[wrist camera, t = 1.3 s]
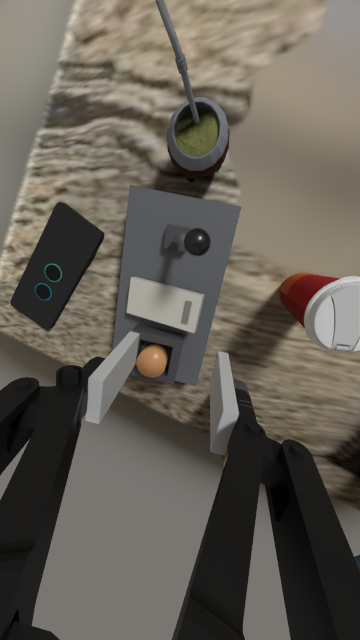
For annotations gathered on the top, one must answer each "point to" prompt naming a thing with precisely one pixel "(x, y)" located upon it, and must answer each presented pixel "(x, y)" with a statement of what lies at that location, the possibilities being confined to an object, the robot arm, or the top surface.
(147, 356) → the push button
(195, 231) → the toggle lever
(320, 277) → the paper cup
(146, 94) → the top surface
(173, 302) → the plate
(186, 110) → the mate gourd
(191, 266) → the console
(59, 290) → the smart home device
